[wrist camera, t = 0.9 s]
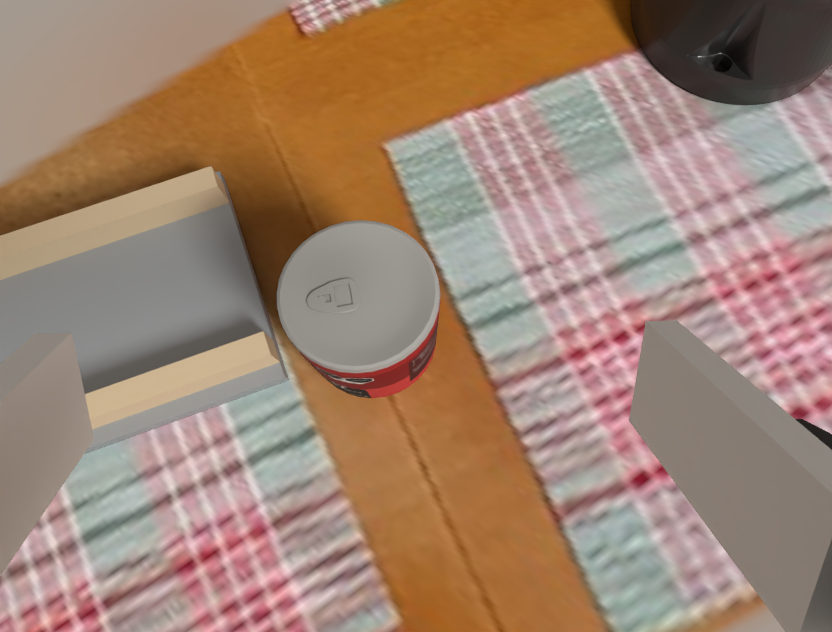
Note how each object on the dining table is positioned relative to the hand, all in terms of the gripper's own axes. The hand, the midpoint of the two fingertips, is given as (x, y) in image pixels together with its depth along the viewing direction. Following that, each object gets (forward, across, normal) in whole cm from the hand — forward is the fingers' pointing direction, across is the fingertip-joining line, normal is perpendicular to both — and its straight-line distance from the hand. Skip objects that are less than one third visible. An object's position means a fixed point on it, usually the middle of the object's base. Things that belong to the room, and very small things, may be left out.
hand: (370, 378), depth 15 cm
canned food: (+24, +1, -10) cm, 26 cm away
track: (+27, -16, -9) cm, 32 cm away
